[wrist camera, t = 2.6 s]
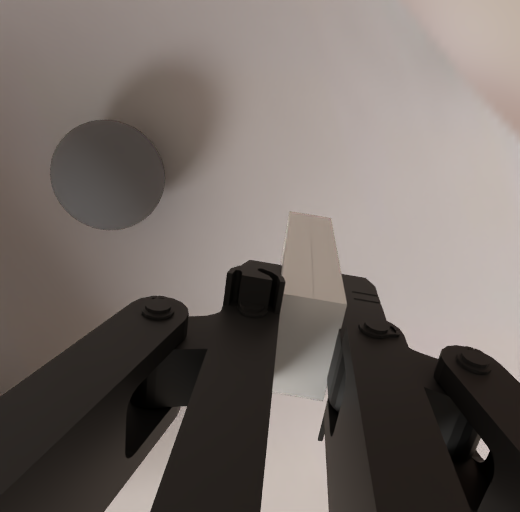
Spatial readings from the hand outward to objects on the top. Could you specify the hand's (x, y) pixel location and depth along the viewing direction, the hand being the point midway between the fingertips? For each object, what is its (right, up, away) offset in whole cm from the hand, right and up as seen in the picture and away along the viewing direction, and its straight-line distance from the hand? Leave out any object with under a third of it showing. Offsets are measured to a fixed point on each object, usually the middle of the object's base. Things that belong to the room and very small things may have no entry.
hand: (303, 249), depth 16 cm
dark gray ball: (-9, +4, +6) cm, 12 cm away
